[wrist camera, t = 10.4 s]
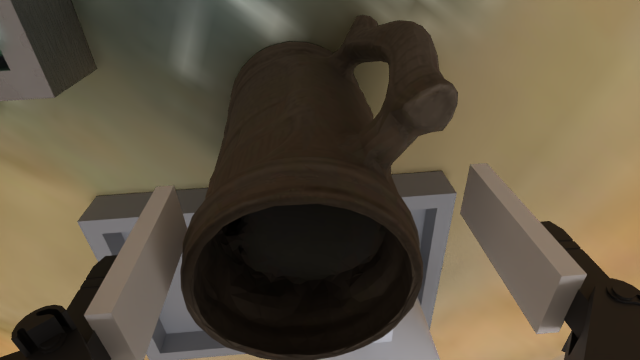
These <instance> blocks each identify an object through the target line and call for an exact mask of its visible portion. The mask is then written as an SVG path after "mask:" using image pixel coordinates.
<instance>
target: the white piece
mask: <svg viewBox="0 0 640 360" xmlns="http://www.w3.org/2000/svg"><path fill="white" fill-rule="evenodd" d="M319 360H440V358H439V355H438V353H437V350H436V347H435V344H434V341H433V339H432V336H431V333H430V330H429V327H428V325H427V322H426V319H425V316H424V313H423V311H422V308H421V305H420V302H419V299H418V297H417V299H416V301H415V304H414V306H413V308H412V309H411V310H410V311H409V312H408V313H407V314H406V316H405V317H404V318H403V319H402V320H401V321H400V322H399V324H398V325H397V326H396V327H395V328H394V329H392V330H391V331H390V332H389V333H388V334H386V335H385V336H384V337H382V338H380V339H379V340H377V341H375V342H373V343H371V344H369V345H367V346H365V347H363V348H360V349H358V350H355V351H353V352H349V353H346V354H343V355H340V356H336V357H331V358H325V359H319Z"/></svg>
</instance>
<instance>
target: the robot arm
mask: <svg viewBox="0 0 640 360" xmlns="http://www.w3.org/2000/svg"><path fill="white" fill-rule="evenodd" d="M460 214H461V215H462V217H463V219H464V220H465V222H466V223H467V225H468V226H469V228H470V230H471V231H472V233H473V234H474V236H475V238H476V239H477V241H478V242H479V244H480V245H481V247H482V249H483V250H484V252H485V253H486V255H487V257H488V258H489V260H490V261H491V263H492V264H493V266H494V268H495V269H496V271H497V272H498V274H499V276H500V277H501V279H502V280H503V282H504V283H505V285H506V287H507V288H508V290H509V291H510V293H511V295H512V296H513V298H514V299H515V301H516V302H517V304H518V306H519V307H520V309H521V310H522V312H523V314H524V315H525V317H526V318H527V320H528V321H529V323H530V325H531V326H532V328H533V329H534V331H535V333H536V334H543V333H554V332H559V331H560V328H561V326H562V324H563V322H564V320H565V322H566V323H567V324H568V326H569V327H570V328H571V330H572V331H571V333H570V335H569V337H568V339H567V341H566V343H565V345H564V347H563V349H562V350H561V351H563V352H566V353H565V358H564V360H640V291H639V290H638V289H637V288H635V287H634V286H632V285H630V284H628V283H626V282H624V281H621V280H617V279H613V278H609V277H608V276H607V275H606V274H605V273H604V272H603V271H602V270H601V268H600V267H599V266H598V265H597V264H596V263H595V262H594V261H593V260H592V259H591V258H590V257H589V256H588V255H587V254H586V253H585V252H584V251H583V250H582V249H580V247H579V246H578V244H577V243H576V242H575V241H573V239H572V238H571V237H570V236H569V235H568V234H567V233H566V232H565V231H564V230H563V229H562V228H560V227H558V226H557V225H555V224H553V223H552V222H550V221H545V222H539V220H538V219H537V218H536V217H535V216H534V215H533V214H532V213H531V212H530V210H529V209H528V208H527V207H526V206H525V205H524V204H523V203H522V202H521V200H520V199H519V198H518V197H517V196H516V195H515V194H514V193H513V192H512V190H511V189H510V188H509V187H508V186H507V185H506V184H505V183H504V182H503V180H502V179H501V178H500V177H499V176H498V175H497V174H496V173H495V172H494V170H493V169H492V168H491V167H490V166H489V165H488V164H487V163H483V164H470V168H469V173H468V178H467V183H466V187H465V192H464V197H463V202H462V207H461V212H460ZM186 232H187V226H186V223H185V219H184V216H183V213H182V210H181V206H180V203H179V200H178V197H177V193H176V190H175V187H174V185H173V186H159V187H156V188H155V190H154V192H153V193H152V195H151V197H150V199H149V201H148V202H147V204H146V206H145V208H144V209H143V211H142V213H141V215H140V216H139V218H138V220H137V222H136V224H135V225H134V227H133V229H132V231H131V232H130V234H129V236H128V238H127V240H126V241H125V243H124V245H123V247H122V248H121V250H120V252H119V254H118V255H111V256H105V257H104V258H102V259H101V260H100V261H99V262H98V263H97V264H96V265H95V266H93V268H92V270H91V271H90V273H89V274H88V276H87V278H86V280H85V281H84V283H83V284H82V286H81V287H80V290H79V291H78V292H77V294H76V295H75V297H74V299H73V300H72V302H71V304H70V305H69V307H68V308H67V310H65V309H64V308H63V307H62V306H58V305H50V306H45V307H42V308H40V309H37V310H35V311H33V312H32V313H30V314H29V315H27V316H25V317H24V318H23V319H22V320H21V321H20V322H19V323H18V324H17V325H16V327H15V328H14V330H13V332H12V338H11V340H12V341H13V342H14V343H15V345H16V346H17V347H18V348H19V350H20V351H18V352H15V353H12V354H9V355H6V356H3V357H0V360H144V358H145V355H146V352H147V349H148V346H149V344H150V341H151V338H152V335H153V332H154V330H155V327H156V324H157V321H158V319H159V316H160V313H161V310H162V307H163V305H164V302H165V299H166V296H167V293H168V291H169V288H170V285H171V282H172V279H173V277H174V274H175V271H176V268H177V265H178V263H179V260H180V257H181V254H182V246H183V240H184V237H185V235H186Z"/></svg>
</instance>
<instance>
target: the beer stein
mask: <svg viewBox="0 0 640 360" xmlns="http://www.w3.org/2000/svg"><path fill="white" fill-rule="evenodd" d="M374 61H383V62H387V63H388V64H389V84H388V89H387V94H386V99H385V101H384V103H383V106H382V108H381V111H380V112H379V113H378V115H377V116H376V117H375V119H373V114H372V111H371V109H370V107H369V105H368V104H367V102H366V100H365V97H364V94H363V93H362V91H361V90H360V89H359V85H358V83H357V81H356V79H355V77H354V75H353V70H354V68H355V67H356V66H357V65H358V64H360V63H362V62H374ZM457 101H458V92H457V90H456V89H455V87H454V86H453V84H452V83H450V82H449V81H447V80H446V79H444V77H443V76H442V74H441V72H440V71H439V63H438V55H437V52H436V50H435V47H434V44H433V41H432V38H431V36H430V34H429V33H428V32H427V31H426V30H425V29H424V28H423V26H421V25H418V24H416V23H414V22H411V21H400V20H399V21H393V22H389V23H386V24H383V25H379V26H378V24H377V22H376V21H375V20H374V19H373V18H372V17H370V16H366V15H360V16H357V17H356V19H355V21H354V23H353V25H352V27H351V29H350V31H349V32H348V34H347V37H346V39H345V41H344V43H343V44H342V46H341V48H340V49H339V50H337V51H336V52H335V53H332V52H331V51H329V50H326V49H324V48H322V47H320V46H318V45H314V44H311V43H307V42H284V43H280V44H276V45H272V46H269V47H267V48H265V49H263V50H261V51H260V52H258V53H256V54H255V55H254V56H253V57H252V58H251V59H250V60H249V61H248V62H247V63H246V64H245V65H244V66H243V67H242V69H241V71H240V72H239V74H238V76H237V78H236V80H235V83H234V86H233V89H232V94H231V100H230V105H229V109H228V119H227V123H226V127H225V131H224V138H223V141H222V146H221V149H220V153H219V156H218V160H217V163H216V167H215V170H214V173H213V175H212V177H211V179H210V183H209V188H208V190H207V193H206V196H205V200H204V202H203V203H202V204H201V206H200V207H199V208H198V209H197V211H196V212H195V213H194V215H193V216H192V218H191V221H190V224H189V226H188V229H187V232H186V235H185V237H184V240H183V246H182V264H181V269H180V277H181V291H182V294H183V298H184V301H185V305H186V308H187V310H188V312H189V314H190V315H191V317H192V318H193V320H194V322H195V323H196V324H197V325H198V326H199V327H200V328H201V329H202V330H203V331H204V332H206V333H207V334H208V335H209V336H210V337H211V338H212V339H214V340H216V341H217V342H219V343H220V344H222V345H223V346H225V347H226V348H230V349H233V350H236V351H240V352H243V353H246V354H249V355H253V356H256V357H259V358H264V359H271V360H319V359H325V358H331V357H336V356H340V355H343V354H346V353H349V352H353V351H355V350H358V349H360V348H363V347H365V346H367V345H369V344H371V343H373V342H375V341H377V340H379V339H380V338H382V337H384V336H385V335H386V334H388V333H389V332H390V331H391V330H392V329H394V328H395V327H396V326H397V325H398V324H399V322H400V321H401V320H402V319H403V318H404V317H405V316H406V314H407V313H408V312H409V311H410V310H411V309H412V308H413V306H414V304H415V301H416V299H417V296H418V294H419V291H420V289H421V286H422V279H423V261H422V257H421V253H420V241H419V235H418V230H417V227H416V224H415V222H414V219H413V216H412V214H411V211H410V210H409V208H408V207H407V205H406V204H405V202H404V201H403V199H402V197H401V196H400V195H399V193H398V191H397V188H396V186H395V184H394V181H393V178H392V176H391V165H392V163H393V162H394V161H395V160H396V159H397V158H398V157H399V156H400V155H401V154H402V153H403V152H404V151H405V150H406V149H407V147H408V146H409V145H410V144H411V143H412V142H413V141H414V140H415V139H416V138H417V137H418V136H420V135H423V134H427V133H430V132H436V131H443V129H444V128H445V127H446V126H447V124H448V123H449V122H450V120H451V119H452V117H453V114H454V112H455V109H456V106H457Z"/></svg>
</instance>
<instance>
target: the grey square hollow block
mask: <svg viewBox="0 0 640 360" xmlns="http://www.w3.org/2000/svg"><path fill="white" fill-rule="evenodd" d="M0 51H1V53H2V54H3V56H1V57H0V101H8V100H23V99H39V98H55V97H56V96H58V95H59V94H61V93H62V92H64V91H65V90H67V89H68V88H70V87H71V86H73V85H74V84H76V83H77V82H79V81H80V80H81V79H83V78H84V77H86V76H87V75H89V74H90V73H92V72H93V71H95V70H96V66H95V63H94V61H93V58H92V55H91V53H90V50H89V47H88V45H87V42H86V39H85V37H84V34H83V31H82V28H81V26H80V23H79V20H78V18H77V15H76V12H75V10H74V7H73V4H72V2H71V0H0Z"/></svg>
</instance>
